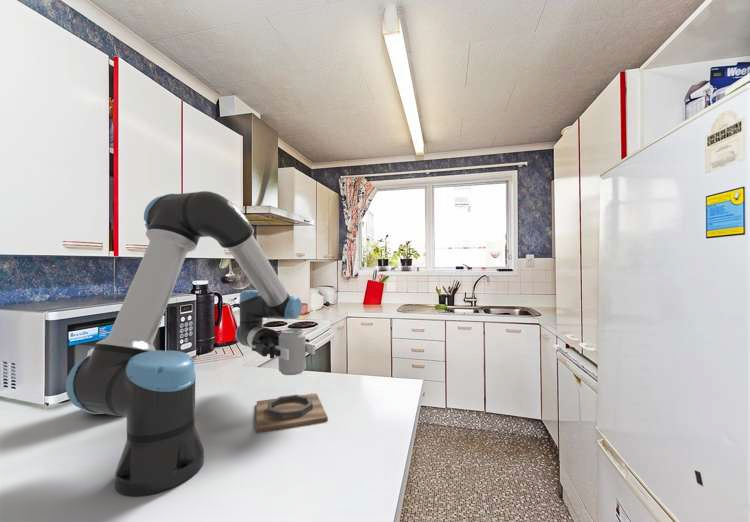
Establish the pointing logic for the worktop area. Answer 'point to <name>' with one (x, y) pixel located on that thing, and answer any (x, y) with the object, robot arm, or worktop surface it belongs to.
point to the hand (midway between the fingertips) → (301, 352)
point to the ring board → (289, 412)
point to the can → (293, 351)
